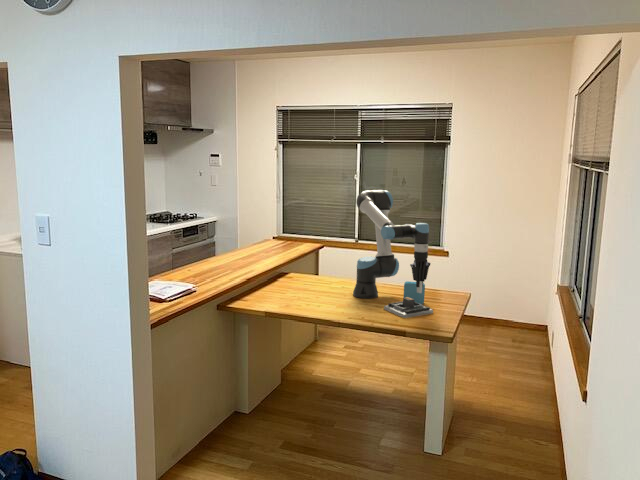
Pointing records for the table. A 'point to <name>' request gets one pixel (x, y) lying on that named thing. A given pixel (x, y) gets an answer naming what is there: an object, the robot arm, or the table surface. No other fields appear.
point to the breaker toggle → (408, 302)
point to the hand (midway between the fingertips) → (419, 292)
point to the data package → (414, 292)
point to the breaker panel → (408, 309)
